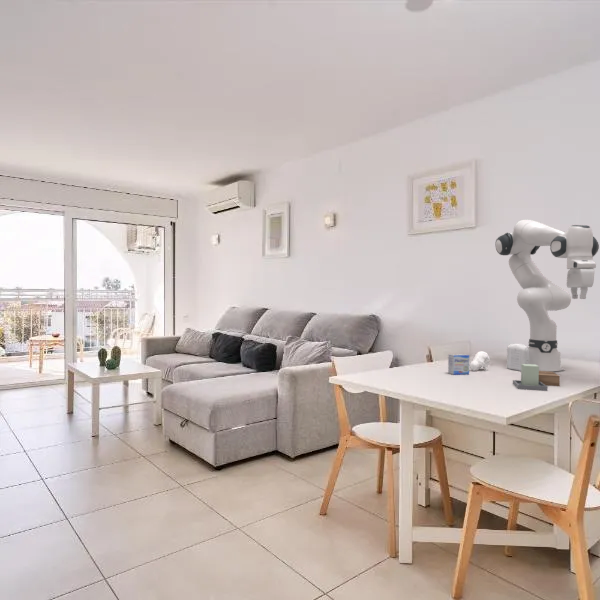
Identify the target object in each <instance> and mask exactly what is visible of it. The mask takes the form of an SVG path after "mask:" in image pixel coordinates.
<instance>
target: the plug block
mask: <svg viewBox="0 0 600 600" xmlns="http://www.w3.org/2000/svg"><path fill="white" fill-rule="evenodd" d="M520 373H521V375H520V381H521V385H530V386H538V382H539V366H537V365H536V364H521V371H520Z"/></svg>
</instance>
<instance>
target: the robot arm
mask: <svg viewBox="0 0 600 600" xmlns="http://www.w3.org/2000/svg"><path fill="white" fill-rule="evenodd" d="M593 234H594V233H593V229H592V227H591V226H590V225H585V224H584V225H583V224H574V225H573V224H572V225H570V226H568V229H567V230H566V231H562V230H561V229H557V228H555V227H552V226H549V225H547V224H545V223H542V222H541V221H540V222H539V221H537V220H533V219H522V220H521V219H520V220H519V221H517V222H516V223H515V225H514V227H513V231H512V232H510V233H509V232H506V233H504V234H501V235H499V236H498V237H497V238H496V240H495V246H494V247H495V250H496V252H497V254H499V255H500V256H509V255H511V256H510V257H509V259H508V265H509V268H510V271H511V273H512V274H513V276H514V278H515V280H516V281H517V283H518V284H519V286H520V287H521V288H522V289H521V290H520V291H519V292H518V294H517V297H516V300H517V301H516V302H517V305H518V306H519V307H520V308H521V309H522V310H523V311H524V312H525V314H526V316H527V318H528V321H529V339H528V346H527V347H528V348H529V364H536V365H537V366H539V371H549V372H560V371H565V367H563V366H562V356H561V352H560V351H559V350H558V349H557V348H558V340H557V327H558V326H557V323H556V322H555V321H554V320H553V319H551V318H550V316H549V314H548V312H549V311H550V312H551V311H552V312H553V311H554V312H555V311H561V310H562V311H563V310H565V309H567V308H568V307H569V306H570V305H571V301H572V299H573V300H577V299H578V298H579V299H581V300H586V299H587V293H588V288H592V287H593V286H594V280H595V269H596V267H597V263H596V262H595V261H594V259H593V257H595V256H596V254H597V253H598V252H599V248H600V246H599V245H600V244H599V242H598V240H597V238H596V237H595V236H594V235H593ZM548 246H549V247H550V248H549V249H550V252H551V254H552V256H554V258H559V259H566V269H567V270H568V271H567V273H566V288H568V289H570V292H571V294H570V292H569V291H568V290H566V289H564V288H561V287H560V286H558V285H557V284H555V283H554V282H552V281H551V280H549V279H548V278H547V277H546V276H545V275H544V274H543V273H542V271H540V270H541V269H539V268H538V266H537V264H536V263H535V262H534V261H533V260H532V258H531V255H535V254H537V251H538V250H539V249H540V247H548ZM579 288H580V289H579ZM578 289H579V290H580V294H578ZM578 296H579V297H578Z"/></svg>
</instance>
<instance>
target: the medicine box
mask: <svg viewBox="0 0 600 600" xmlns="http://www.w3.org/2000/svg"><path fill="white" fill-rule="evenodd" d="M447 356H448V357H447V358H448V359H447V360H448V361H447V362H448V364H447V365H448V366H447V373H448V374H449V375H452V376H460V375H461V376H465V375H467V376H468V375H470V366H469V365H470V354H466V353H459V354H456V353H455V354H454V353H452V354H451V353H450V354H448V355H447Z"/></svg>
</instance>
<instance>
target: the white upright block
mask: <svg viewBox="0 0 600 600" xmlns="http://www.w3.org/2000/svg"><path fill="white" fill-rule="evenodd" d="M521 364H529V346H527V345H525V344H523V343H511V344H508V346H507V349H506V369H508V370H514V371H519V372H521Z"/></svg>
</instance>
